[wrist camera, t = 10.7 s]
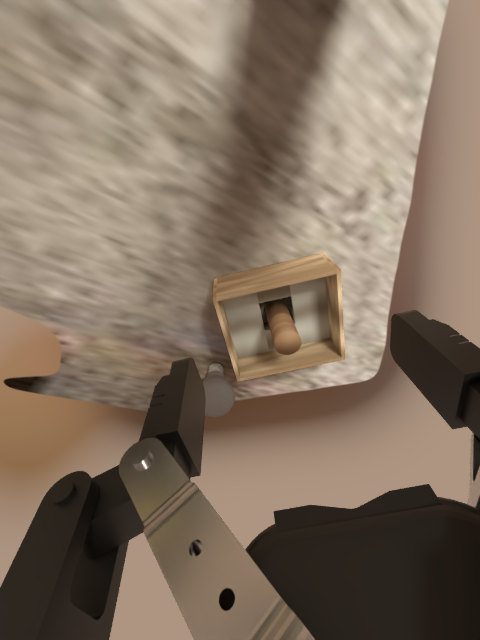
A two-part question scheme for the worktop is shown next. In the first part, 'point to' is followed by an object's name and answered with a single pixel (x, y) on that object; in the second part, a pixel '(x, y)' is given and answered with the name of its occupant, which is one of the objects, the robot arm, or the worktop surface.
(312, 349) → the crate
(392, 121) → the worktop surface
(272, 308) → the peg
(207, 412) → the light bulb
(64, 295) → the worktop surface
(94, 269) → the worktop surface
